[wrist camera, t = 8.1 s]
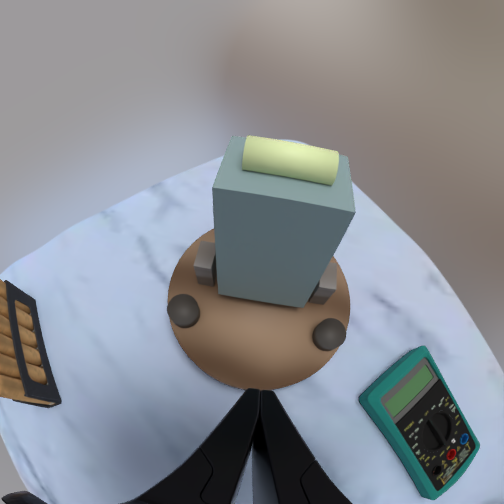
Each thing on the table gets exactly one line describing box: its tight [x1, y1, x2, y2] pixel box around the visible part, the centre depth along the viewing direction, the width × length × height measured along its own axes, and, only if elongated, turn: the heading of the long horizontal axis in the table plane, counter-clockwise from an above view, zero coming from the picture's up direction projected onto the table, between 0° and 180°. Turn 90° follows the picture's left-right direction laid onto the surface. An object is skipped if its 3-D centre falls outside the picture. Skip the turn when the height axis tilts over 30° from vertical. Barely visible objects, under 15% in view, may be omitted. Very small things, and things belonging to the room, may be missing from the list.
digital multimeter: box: [359, 346, 480, 500], centre depth 17 cm, size 7×15×3 cm, turn 31°
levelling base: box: [167, 229, 350, 391], centre depth 21 cm, size 14×14×6 cm
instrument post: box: [212, 135, 356, 308], centre depth 16 cm, size 4×6×11 cm, turn 81°
